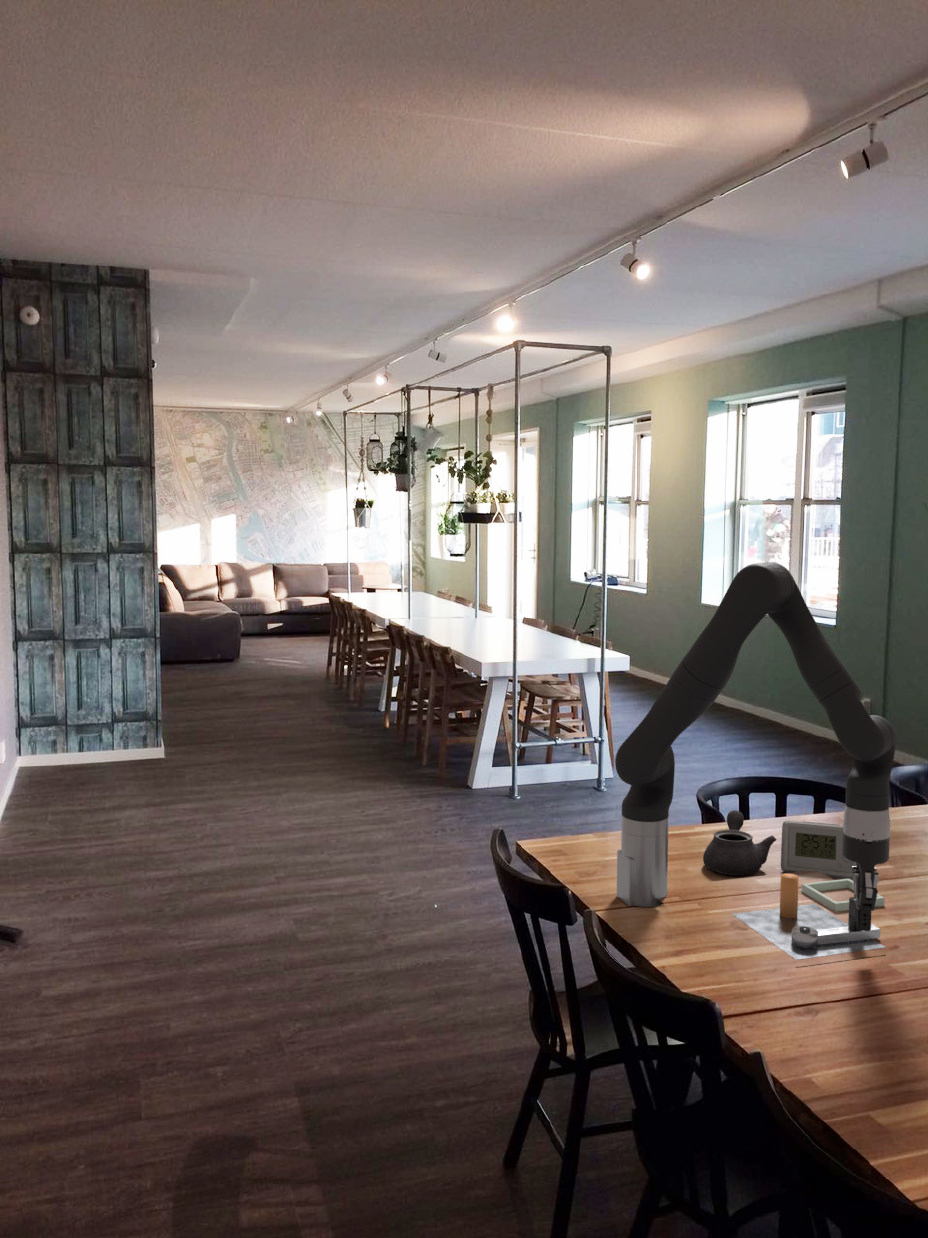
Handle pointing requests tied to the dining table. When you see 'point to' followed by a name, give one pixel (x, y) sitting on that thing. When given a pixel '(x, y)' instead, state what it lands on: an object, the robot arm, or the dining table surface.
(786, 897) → the pin
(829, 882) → the tray
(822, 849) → the digital clock
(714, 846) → the teapot
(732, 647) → the robot arm
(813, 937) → the crank
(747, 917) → the crank base
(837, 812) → the dining table surface
